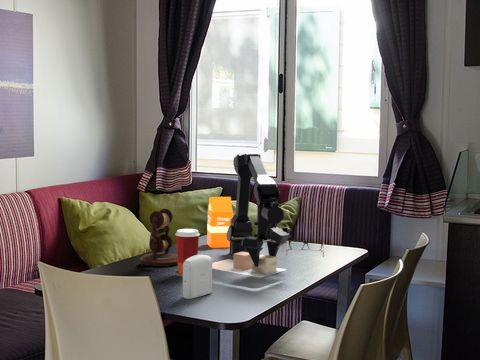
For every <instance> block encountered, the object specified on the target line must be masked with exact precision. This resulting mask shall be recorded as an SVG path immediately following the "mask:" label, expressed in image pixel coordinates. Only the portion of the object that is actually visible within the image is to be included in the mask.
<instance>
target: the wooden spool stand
mask: <svg viewBox="0 0 480 360" xmlns="http://www.w3.org/2000/svg"><path fill="white" fill-rule="evenodd" d="M172 221H173V213H172V211H171V210H170V209H168V208H162V209H160V210H154V211H152V212H151V213H150V215H149V222H150V224H151V225H150V234H149V235H150V236H149V241H148V242H149V243H148V246H149V250H150V251H151V253H146V254H144V255H142V256H141V257H140V258H139V263H140V265H141V267H142V268H143V267H144V266H145V265H146V266H155V267H156V266H157V267H165V268H169V266H176V265H178V259H177V254H175V253H171V252H169V251H170V249H171V247H172V246H173V240H172V238H171V236H170V235H169V233H170V230H171V227H170V224H171V222H172ZM163 233H164V234H163ZM159 234H161V235H159ZM158 235H159V237H158ZM163 251H164V252H163Z"/></svg>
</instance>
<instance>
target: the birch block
mask: <svg viewBox="0 0 480 360" xmlns="http://www.w3.org/2000/svg"><path fill="white" fill-rule="evenodd" d="M277 261H278V256H276V257H274V256H269V254H260V255H259V264H258V267H255V265H254V263H253V261H252V272H257V273H262V274H269V273H273V272H276V271H277V268H278V267H277V265H278V263H277Z"/></svg>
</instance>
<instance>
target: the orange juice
mask: <svg viewBox="0 0 480 360" xmlns="http://www.w3.org/2000/svg"><path fill="white" fill-rule="evenodd" d="M208 201H209V202H208V205H207V225H206V226H207V231H206V232H207V233H206V234H207V235H206V236H207V238H206V239H207V240H206V241H207V243H206V244H207V245H208V247H210V248H211V249H212V248H215V249H216V248H219V249H220V248H230V242H229V241H228V240H227V238H226V234H227V231H228V228H229V226H230V222H231V219H232V218H233V216H234V215H233V213H234V212H233V206H232V197H231V196H211V197H209V200H208Z"/></svg>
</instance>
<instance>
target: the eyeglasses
mask: <svg viewBox="0 0 480 360" xmlns="http://www.w3.org/2000/svg"><path fill="white" fill-rule="evenodd" d="M291 242H302V243H303V245H302V247H301V250H303V249H304V247H305V245H307V248H308V249H310V248H309V243H311V242H313V243H314V242H316V243H317V242H318V243H320V244H321V246H320V249H319V251H322V257H323V258H324V257H325V256H324V252H325V251H324V249H325V244H324V243H325V242H324V241H319V240H310V241H304V240H303V241H302V240H298V239H292V240H290V239H289V240H287V244H286V249H288V247H289V249H290V250H293V248H292V247H291ZM286 255H287V256H288V253H286Z"/></svg>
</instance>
